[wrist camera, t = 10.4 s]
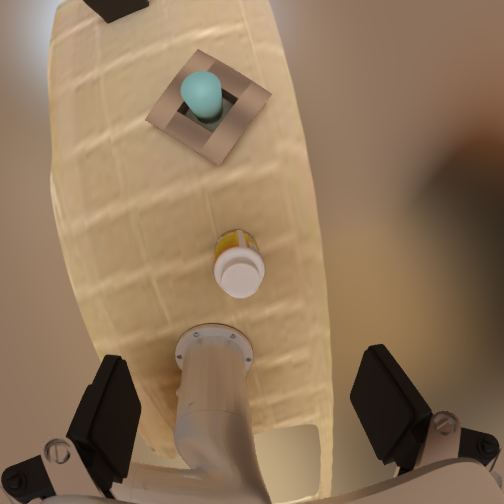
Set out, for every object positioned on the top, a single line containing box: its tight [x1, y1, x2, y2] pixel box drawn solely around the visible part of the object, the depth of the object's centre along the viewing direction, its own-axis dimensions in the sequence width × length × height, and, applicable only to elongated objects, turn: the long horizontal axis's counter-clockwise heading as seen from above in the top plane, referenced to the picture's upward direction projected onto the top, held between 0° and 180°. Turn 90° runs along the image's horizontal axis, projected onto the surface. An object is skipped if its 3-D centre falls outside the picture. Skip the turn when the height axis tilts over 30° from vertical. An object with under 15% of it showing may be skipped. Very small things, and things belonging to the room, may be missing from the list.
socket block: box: [145, 49, 272, 166], centre depth 29 cm, size 10×10×5 cm
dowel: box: [181, 71, 223, 124], centre depth 26 cm, size 3×3×12 cm
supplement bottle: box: [214, 230, 265, 298], centre depth 33 cm, size 6×6×10 cm
